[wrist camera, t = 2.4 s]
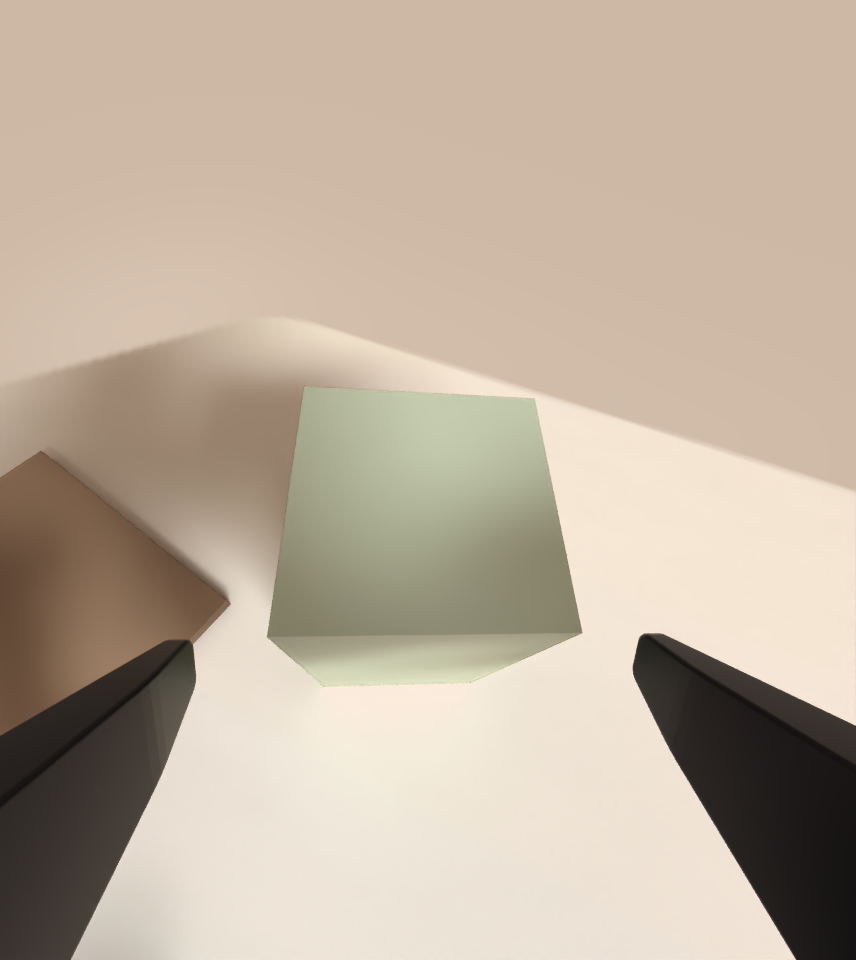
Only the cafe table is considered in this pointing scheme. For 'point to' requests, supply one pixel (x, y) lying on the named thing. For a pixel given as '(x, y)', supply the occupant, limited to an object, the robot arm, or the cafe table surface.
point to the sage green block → (419, 540)
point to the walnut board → (80, 590)
